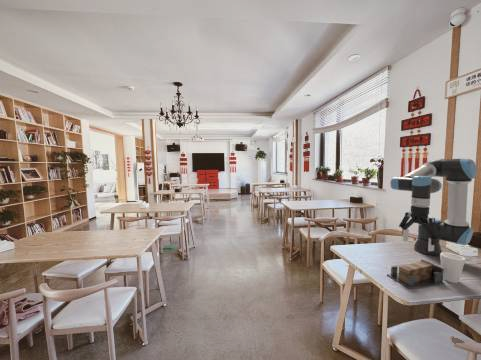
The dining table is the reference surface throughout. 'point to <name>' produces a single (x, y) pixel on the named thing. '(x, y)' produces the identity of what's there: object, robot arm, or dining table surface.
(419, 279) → the brown wooden block
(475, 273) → the dining table surface
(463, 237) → the robot arm
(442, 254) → the foam cup
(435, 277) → the bracket board
